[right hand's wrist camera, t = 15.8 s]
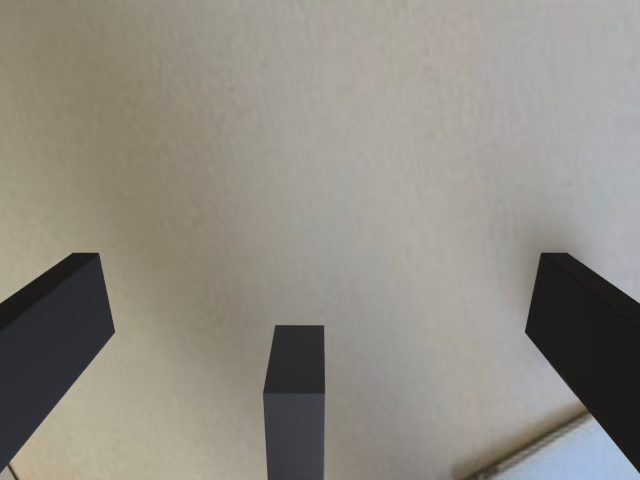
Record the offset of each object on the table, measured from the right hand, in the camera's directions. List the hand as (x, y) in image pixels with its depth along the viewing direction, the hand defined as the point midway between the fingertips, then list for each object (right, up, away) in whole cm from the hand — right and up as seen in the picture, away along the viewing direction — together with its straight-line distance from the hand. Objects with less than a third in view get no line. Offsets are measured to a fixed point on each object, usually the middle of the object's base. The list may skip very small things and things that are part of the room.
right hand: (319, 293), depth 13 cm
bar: (-2, -17, +26) cm, 31 cm away
